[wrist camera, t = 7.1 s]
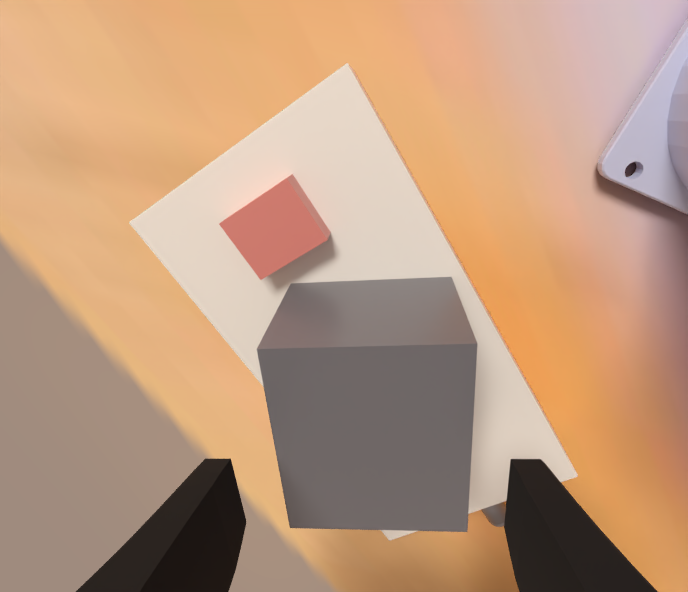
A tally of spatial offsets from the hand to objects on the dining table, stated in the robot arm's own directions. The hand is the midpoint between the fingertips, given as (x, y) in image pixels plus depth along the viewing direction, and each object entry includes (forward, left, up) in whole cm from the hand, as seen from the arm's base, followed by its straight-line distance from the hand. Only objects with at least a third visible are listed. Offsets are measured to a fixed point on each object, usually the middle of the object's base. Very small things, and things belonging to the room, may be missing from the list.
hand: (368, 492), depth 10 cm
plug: (0, 0, -7) cm, 7 cm away
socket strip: (-1, +1, -8) cm, 8 cm away
